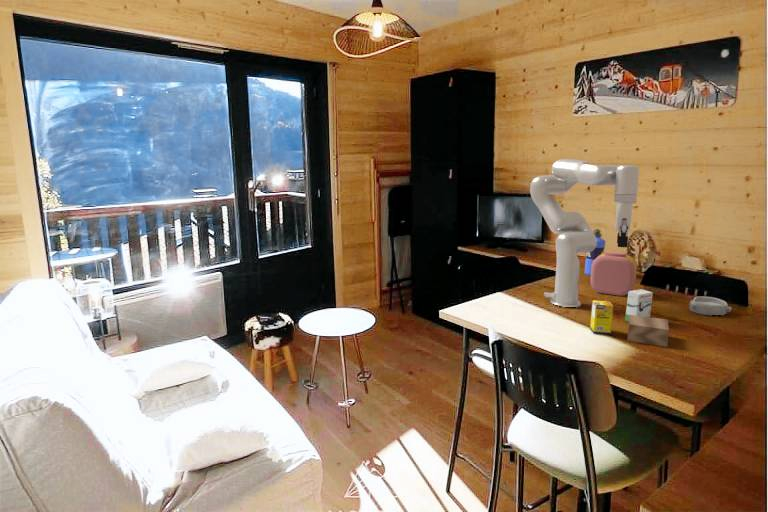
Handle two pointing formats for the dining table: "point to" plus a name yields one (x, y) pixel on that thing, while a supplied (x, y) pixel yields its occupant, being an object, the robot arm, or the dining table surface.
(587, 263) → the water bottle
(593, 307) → the supplement box
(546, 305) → the dining table surface
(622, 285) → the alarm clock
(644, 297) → the ink box
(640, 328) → the walnut block
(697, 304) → the dish
